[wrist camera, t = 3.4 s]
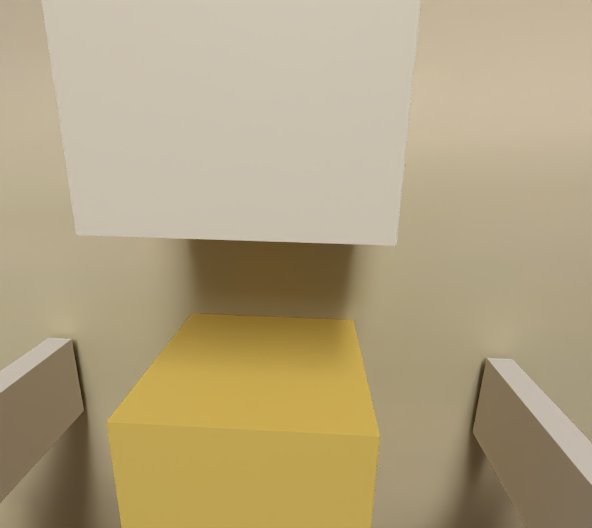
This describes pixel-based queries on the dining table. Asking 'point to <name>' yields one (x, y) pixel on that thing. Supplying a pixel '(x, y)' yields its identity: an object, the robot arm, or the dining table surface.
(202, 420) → the mustard cube
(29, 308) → the dining table surface
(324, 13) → the cream cube
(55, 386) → the robot arm
